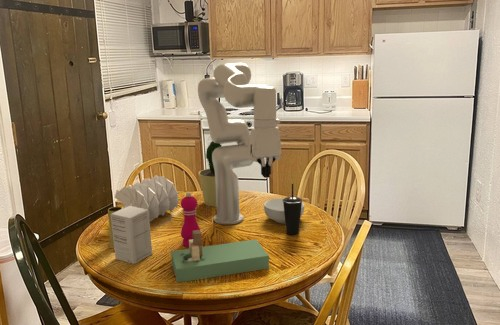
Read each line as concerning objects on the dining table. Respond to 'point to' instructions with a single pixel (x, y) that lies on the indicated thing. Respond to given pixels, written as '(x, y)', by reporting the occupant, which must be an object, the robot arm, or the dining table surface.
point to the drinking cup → (292, 214)
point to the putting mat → (220, 260)
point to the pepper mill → (189, 218)
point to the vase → (111, 210)
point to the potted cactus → (209, 177)
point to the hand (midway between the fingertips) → (266, 176)
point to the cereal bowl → (277, 210)
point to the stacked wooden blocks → (196, 245)
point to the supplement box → (131, 234)
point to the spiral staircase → (150, 196)
